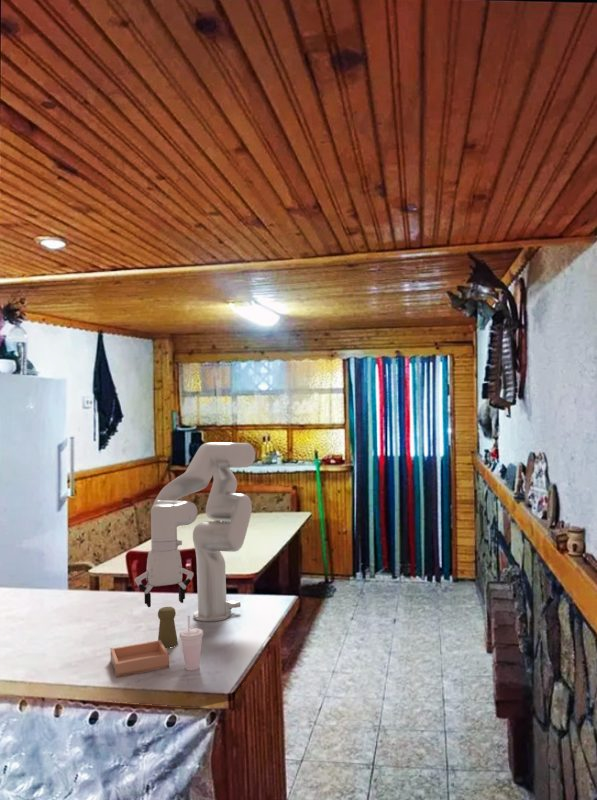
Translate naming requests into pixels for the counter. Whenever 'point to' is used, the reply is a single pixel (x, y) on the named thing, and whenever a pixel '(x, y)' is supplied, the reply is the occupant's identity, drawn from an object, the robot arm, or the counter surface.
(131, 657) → the terracotta tray
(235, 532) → the robot arm
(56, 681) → the counter surface
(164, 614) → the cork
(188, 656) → the smoothie
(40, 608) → the counter surface
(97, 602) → the counter surface
